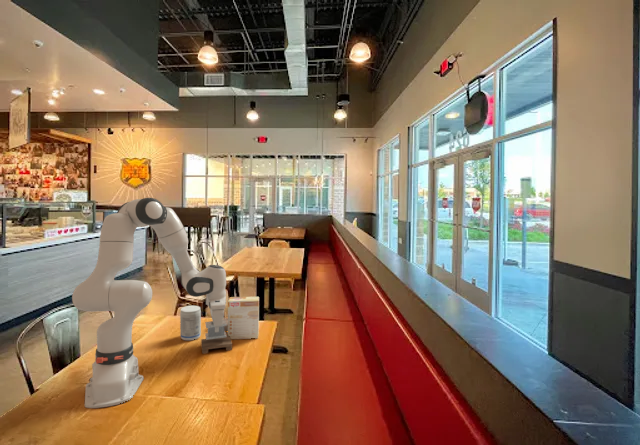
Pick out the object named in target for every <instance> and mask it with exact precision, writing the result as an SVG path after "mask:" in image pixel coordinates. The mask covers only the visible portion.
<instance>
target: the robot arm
mask: <svg viewBox="0 0 640 445" xmlns="http://www.w3.org/2000/svg"><path fill="white" fill-rule="evenodd" d="M148 226H149V227H151V228H152V229H153V231H154V232H155V235H156V237H157V239H158V241H159V243H160V244H161V245H162V247H163V248H164V249H165V251H166V252H167V253H168V254H170V255H171V256H172V258H173V259H174V262H175V263H176V265H177V267H178V269H179V272H180V284H181V286H182V287H183V289H185V291H186V293H187V294H188V295H190V296H191V297H195V298H199V297H202V296H205V297H206V299H205V305H207V307H208V308H209V309H210V315H211V321H213V324H214V327H215V332H219V327H220V326H222V325H223V317H224V316H225V309H226V304H227V291H226V287H227V273H226V269H225V268H224V267H223V266H222V265H218V264H210V265H208V266H207V267H206V268H204V269H202V270H201V271H200V270H199V269H197V268H196V267H195V265H194V264H193V261H192V259H191V256H190V254H189V252H188V246H189V245H188V244H189V238H188V235H187V234H188V233H187V232H186V229H185V227H184V225H183V223H182V221H181V219H180V218H179V216H178V215H177V213H176V212H175V211H174V209H173V208H171V207H168V206H164V204H163V203H162V202H161V201H159V199H157V198H153V197H143V198H136V199H133V200H131V201H127V202H125V203H123V204H122V205H121V206H120V207H119V208H118V209H117V212H116V213H114V212H113V213H109V214H108V215H107V216H105V217H104V220H103V222H102V225H101V229H100V235H99V236H100V237H99V245H98V246H99V247H98V254H97V255H98V256H97V262H96V265H95V268H94V269H93V271H92V272H91V273H90V275H89V276H88V277H87V278H86V279H85V280H84V281H83V282H81V283H79V284H78V285H77V286H76V287H75V288H74V291H73V292H72V294H71V295H72V296H71V299H72V300H71V301H72V303H73V304H72V305H73V306H74V307H75V308H76V310H78V311H84V312H92V313H93V312H94V313H95V312H114V315H113V317H111V318H108V319H106V320H105V321H104V322H102V323H101V324H100V325H99V326H98V327H97V330H96V350H95V356H94V357H95V359H94V360H95V361H94V362H92V363H91V366H92V377H90V379H89V382H87V383H86V384H85V389H84V390H85V393H84V394H85V395H84V407H85V408H86V409H99V408H100V409H101V408H107V407H111V406H117V405H120V403H121V404H124V403H126V402H125V401H127V402H129V401H131V400H132V399H133V397H134V396H135V394H136V393H137V391H138V389H139V387H140V386H141V384H142V382H143V381H144V379H145V378H144V375H142V374H139V361H138V360H139V359H138V357H137V356H135V354H134V345H133V342H132V338H133V337H132V334H133V333H132V332H133V323H134V321H135V320H136V317H137V315H138V314H139V313H140V312H141V311H143V310H144V309H145V308H146V307H148V305H149V304H150V303H151V301H152V298H153V289H152V287H151V285H150V284H149V283H148V281H143V280H139V279H138V280H137V279H119V280H117V279H115V277H116V275H117V273H119V272H121V271H124V270H126V269H127V268H129V267H130V265H131V264H132V263H133V261H134V244H135V243H134V239H135V238H134V237H135V236H134V235H135V231H136V230H137V228H144V227H148ZM224 318H225V317H224ZM133 395H134V396H133ZM131 398H132V399H131ZM130 399H131V400H130ZM128 400H129V401H128ZM123 402H124V403H123Z"/></svg>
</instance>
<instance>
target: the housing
mask: <svg viewBox="0 0 640 445" xmlns="http://www.w3.org/2000/svg"><path fill="white" fill-rule="evenodd" d="M224 326H227V323H226V320H223V325H222V326H220V327H219V332H215V327H214V324H213V320H211V321H205V327H206V329H207V333H206V332H205V335H204V336H205V339H206V340H209V339H217V338H225V337H227V336H228V334H227V332H225V331H224Z"/></svg>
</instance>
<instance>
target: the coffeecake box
mask: <svg viewBox="0 0 640 445" xmlns="http://www.w3.org/2000/svg"><path fill="white" fill-rule="evenodd" d="M227 319H228V332H227V336H230V338H231V340H245V339H246V340H248V339H249V340H251V338H255V339H259V331H260V330H259V329H260V324H259V323H260V322H259V320H260V297H259V296H231V297H229V298H228V300H227Z"/></svg>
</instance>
